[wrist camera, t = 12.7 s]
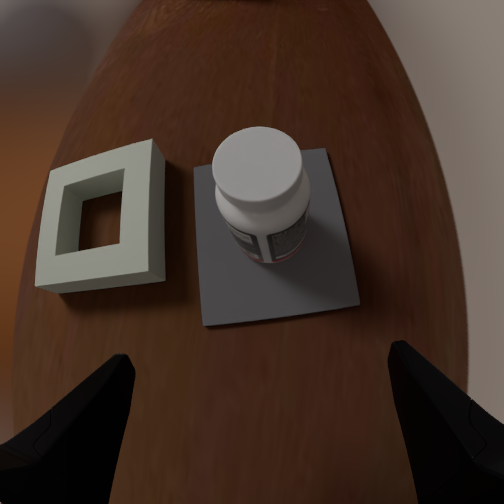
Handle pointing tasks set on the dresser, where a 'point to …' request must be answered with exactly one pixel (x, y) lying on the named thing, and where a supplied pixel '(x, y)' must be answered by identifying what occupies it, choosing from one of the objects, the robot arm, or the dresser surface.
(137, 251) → the socket block
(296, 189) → the pill bottle
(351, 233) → the dresser surface
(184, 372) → the dresser surface
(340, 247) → the charcoal mat
